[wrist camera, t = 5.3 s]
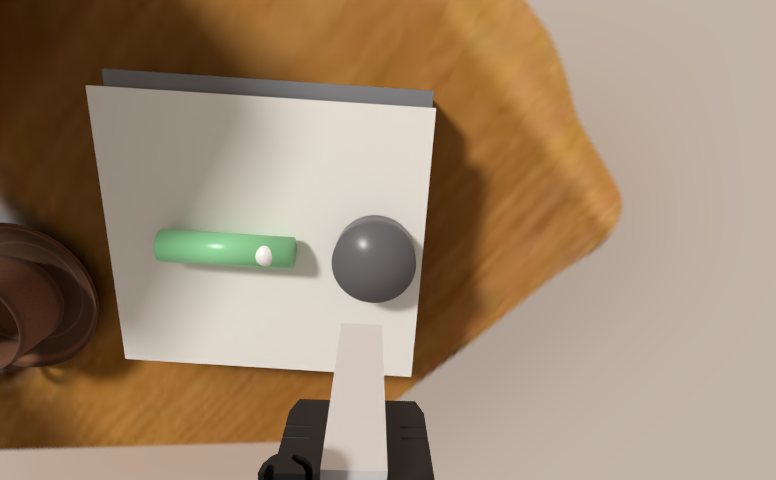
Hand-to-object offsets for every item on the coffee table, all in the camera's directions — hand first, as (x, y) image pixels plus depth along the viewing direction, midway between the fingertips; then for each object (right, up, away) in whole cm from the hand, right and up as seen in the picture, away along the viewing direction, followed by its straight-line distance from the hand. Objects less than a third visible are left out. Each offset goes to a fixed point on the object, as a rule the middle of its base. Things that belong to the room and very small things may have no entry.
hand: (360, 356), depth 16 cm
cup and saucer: (-27, 0, +18) cm, 33 cm away
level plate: (-7, +4, +12) cm, 15 cm away
